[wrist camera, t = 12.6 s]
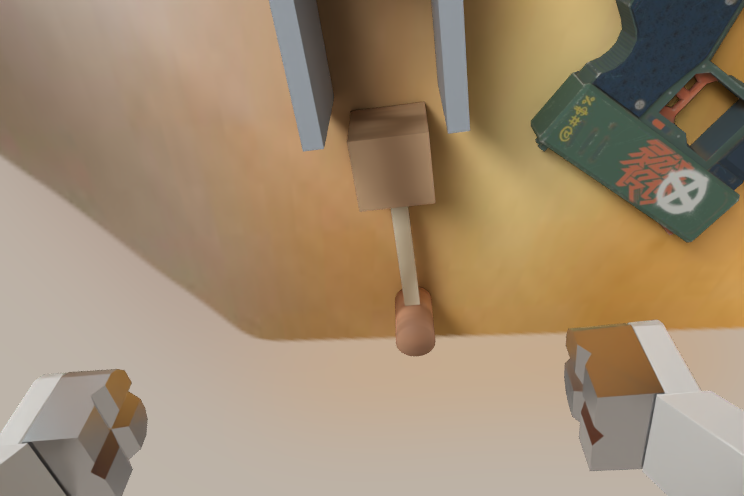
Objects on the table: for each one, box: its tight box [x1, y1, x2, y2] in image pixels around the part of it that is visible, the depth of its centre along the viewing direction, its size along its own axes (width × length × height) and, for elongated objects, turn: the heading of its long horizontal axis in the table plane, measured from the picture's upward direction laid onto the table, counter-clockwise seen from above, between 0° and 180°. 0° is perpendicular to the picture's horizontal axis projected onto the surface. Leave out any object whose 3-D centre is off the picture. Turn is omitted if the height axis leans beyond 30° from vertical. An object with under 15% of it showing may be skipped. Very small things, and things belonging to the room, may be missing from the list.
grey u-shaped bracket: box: [269, 0, 470, 151], centre depth 33 cm, size 9×13×8 cm
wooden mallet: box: [347, 102, 435, 356], centre depth 43 cm, size 5×18×5 cm, turn 8°
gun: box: [531, 0, 744, 242], centre depth 39 cm, size 3×16×15 cm
